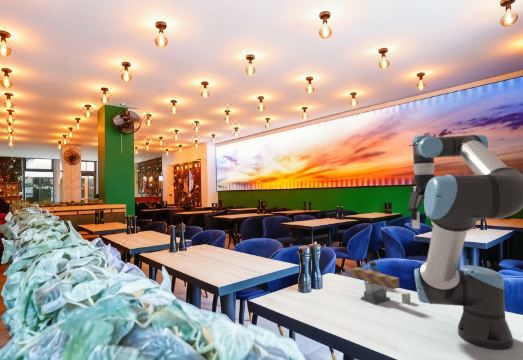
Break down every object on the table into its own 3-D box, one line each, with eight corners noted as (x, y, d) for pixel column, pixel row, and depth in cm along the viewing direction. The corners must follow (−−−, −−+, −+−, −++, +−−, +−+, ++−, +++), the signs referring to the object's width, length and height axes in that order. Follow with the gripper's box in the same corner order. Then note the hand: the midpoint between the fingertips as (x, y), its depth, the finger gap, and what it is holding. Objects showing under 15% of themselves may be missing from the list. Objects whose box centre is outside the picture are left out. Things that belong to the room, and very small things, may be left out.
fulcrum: (390, 299, 143) (389, 282, 144) (375, 304, 138) (374, 286, 138) (375, 294, 150) (374, 277, 150) (360, 299, 145) (360, 281, 145)
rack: (410, 302, 140) (410, 293, 140) (406, 303, 138) (405, 294, 138) (369, 288, 159) (369, 280, 159) (365, 290, 157) (365, 282, 157)
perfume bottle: (364, 284, 165) (363, 261, 165) (374, 283, 167) (373, 260, 167) (372, 288, 159) (371, 264, 159) (382, 286, 161) (381, 263, 161)
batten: (399, 287, 136) (398, 278, 136) (393, 289, 134) (393, 279, 134) (358, 275, 155) (358, 267, 155) (352, 277, 153) (352, 268, 153)
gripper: (432, 174, 139) (434, 223, 138) (396, 174, 125) (398, 228, 125) (450, 173, 132) (451, 224, 132) (414, 174, 119) (416, 230, 119)
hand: (425, 226), depth 129 cm, fingers open, 13 cm apart
